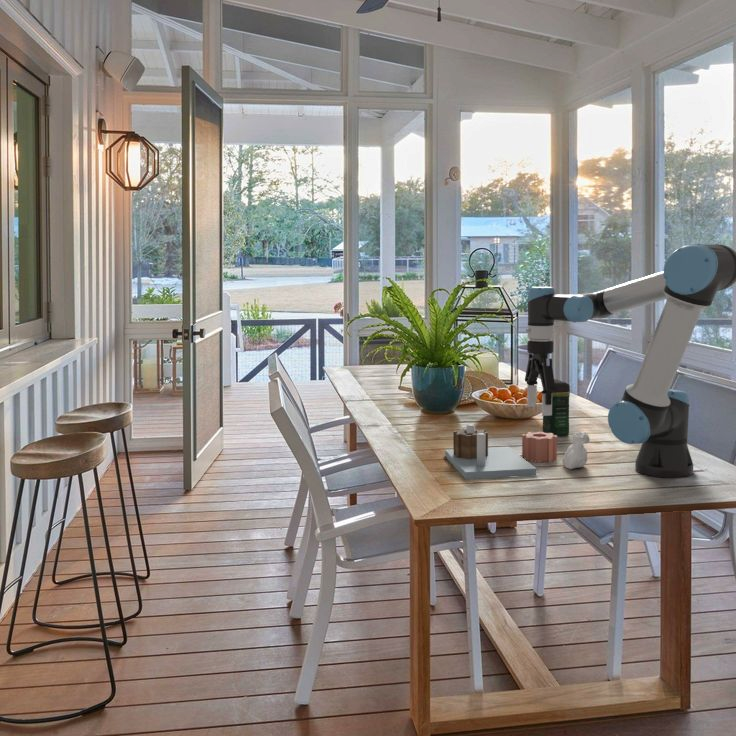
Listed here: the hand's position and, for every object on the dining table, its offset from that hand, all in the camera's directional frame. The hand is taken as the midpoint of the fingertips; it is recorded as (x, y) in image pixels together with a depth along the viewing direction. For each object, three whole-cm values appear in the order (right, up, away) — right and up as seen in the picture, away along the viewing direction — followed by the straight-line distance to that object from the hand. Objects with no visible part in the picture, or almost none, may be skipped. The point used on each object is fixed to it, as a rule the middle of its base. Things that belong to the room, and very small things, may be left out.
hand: (539, 410), depth 235 cm
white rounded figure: (+9, -16, -8) cm, 20 cm away
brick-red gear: (0, -14, +2) cm, 14 cm away
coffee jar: (+13, -10, +33) cm, 37 cm away
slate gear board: (-16, -16, -5) cm, 23 cm away
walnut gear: (-20, -13, -1) cm, 24 cm away
